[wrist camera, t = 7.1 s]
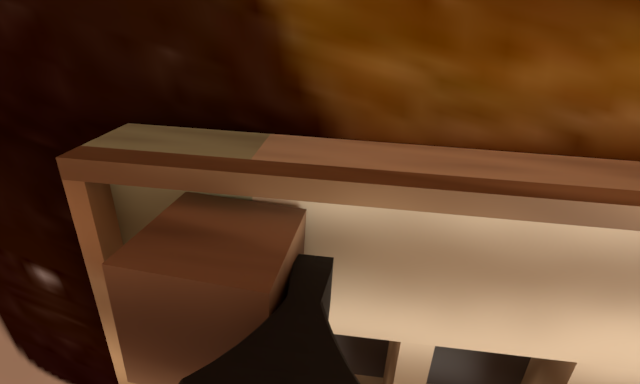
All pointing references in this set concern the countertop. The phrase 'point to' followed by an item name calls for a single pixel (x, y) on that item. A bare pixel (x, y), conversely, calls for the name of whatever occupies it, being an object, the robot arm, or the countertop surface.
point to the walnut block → (199, 282)
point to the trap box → (406, 245)
